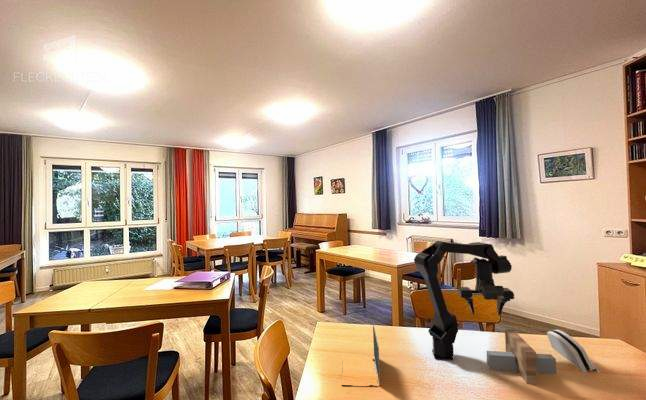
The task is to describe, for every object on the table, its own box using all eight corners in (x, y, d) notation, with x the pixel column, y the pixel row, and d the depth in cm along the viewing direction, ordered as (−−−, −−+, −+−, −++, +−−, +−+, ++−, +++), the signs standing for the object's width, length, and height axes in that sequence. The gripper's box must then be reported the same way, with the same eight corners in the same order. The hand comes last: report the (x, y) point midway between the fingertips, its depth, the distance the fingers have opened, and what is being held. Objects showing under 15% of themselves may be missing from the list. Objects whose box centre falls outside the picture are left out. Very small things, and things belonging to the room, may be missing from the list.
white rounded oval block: (600, 372, 97) (587, 343, 97) (585, 377, 97) (572, 348, 98) (566, 347, 113) (555, 323, 114) (553, 351, 114) (542, 326, 114)
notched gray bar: (490, 369, 101) (489, 355, 101) (487, 364, 104) (486, 350, 104) (556, 374, 97) (555, 359, 97) (551, 369, 100) (550, 354, 100)
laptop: (342, 358, 113) (341, 323, 113) (375, 358, 112) (374, 323, 112) (341, 387, 95) (339, 347, 95) (380, 388, 94) (379, 347, 94)
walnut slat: (506, 356, 108) (504, 329, 108) (515, 357, 108) (513, 330, 108) (526, 383, 93) (525, 351, 93) (537, 384, 92) (536, 352, 92)
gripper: (464, 280, 109) (465, 322, 109) (519, 280, 106) (521, 324, 105) (456, 272, 120) (458, 311, 120) (507, 273, 116) (509, 312, 116)
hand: (485, 314), depth 115 cm, fingers open, 9 cm apart
